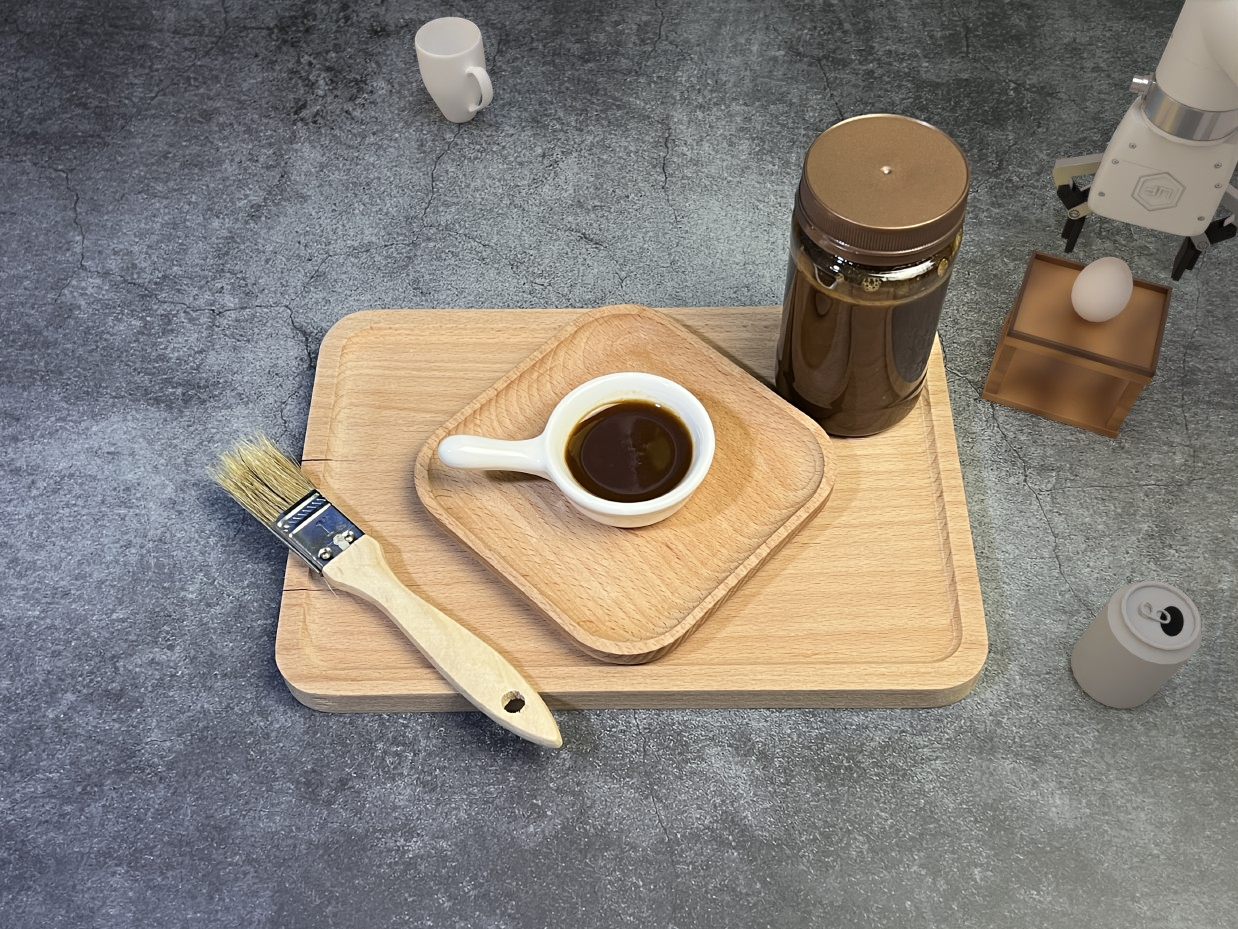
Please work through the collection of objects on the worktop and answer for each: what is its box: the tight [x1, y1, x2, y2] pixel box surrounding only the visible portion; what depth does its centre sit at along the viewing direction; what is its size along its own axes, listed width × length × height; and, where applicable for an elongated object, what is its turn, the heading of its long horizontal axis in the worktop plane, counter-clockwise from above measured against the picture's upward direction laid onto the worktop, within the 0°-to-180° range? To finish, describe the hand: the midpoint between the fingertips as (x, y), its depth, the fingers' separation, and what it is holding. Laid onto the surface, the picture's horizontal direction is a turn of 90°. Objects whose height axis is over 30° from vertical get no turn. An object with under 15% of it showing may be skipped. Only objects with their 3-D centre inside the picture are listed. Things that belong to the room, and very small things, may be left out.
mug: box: [414, 16, 494, 124], centre depth 139 cm, size 12×8×11 cm
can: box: [1070, 580, 1203, 710], centre depth 94 cm, size 8×8×12 cm
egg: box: [1071, 256, 1133, 322], centre depth 107 cm, size 5×5×7 cm
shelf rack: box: [980, 249, 1174, 440], centre depth 114 cm, size 14×12×11 cm
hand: (1122, 257), depth 103 cm, fingers open, 9 cm apart
